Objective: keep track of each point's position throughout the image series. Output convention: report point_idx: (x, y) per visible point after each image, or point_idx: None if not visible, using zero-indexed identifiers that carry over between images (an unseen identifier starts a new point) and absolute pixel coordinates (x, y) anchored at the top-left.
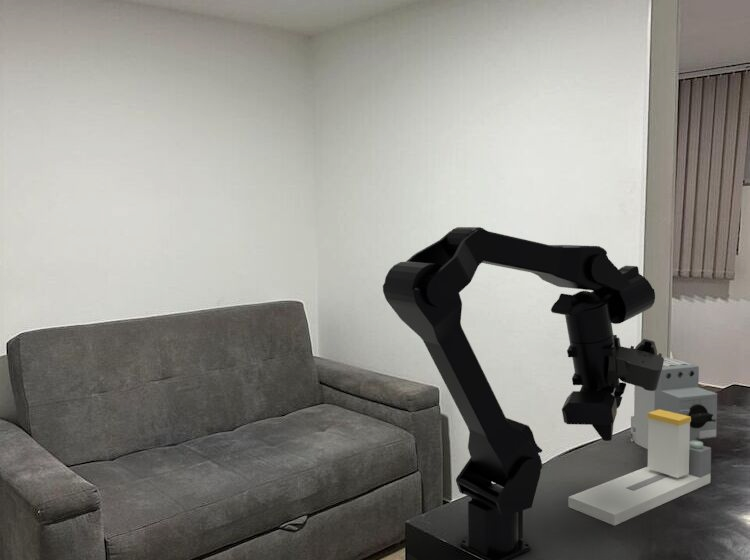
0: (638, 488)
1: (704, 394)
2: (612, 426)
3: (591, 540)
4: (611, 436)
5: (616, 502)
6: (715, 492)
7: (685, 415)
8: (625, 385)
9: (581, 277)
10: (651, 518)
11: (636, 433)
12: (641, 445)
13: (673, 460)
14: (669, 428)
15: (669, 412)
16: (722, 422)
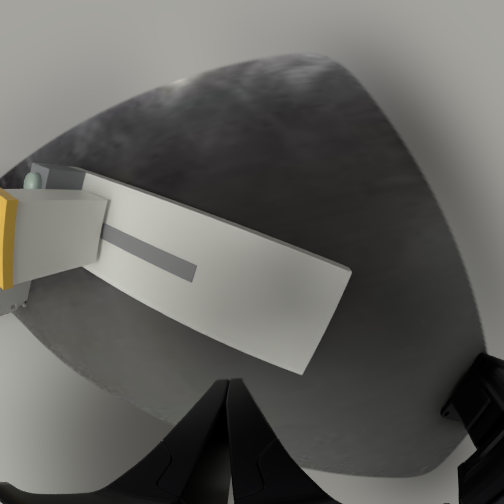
0: (180, 259)
1: None
2: (219, 411)
3: (426, 287)
4: (246, 387)
5: (281, 284)
6: (105, 147)
7: None
8: (3, 501)
9: None
10: (272, 209)
11: (16, 302)
12: (28, 291)
13: (81, 210)
14: (24, 226)
15: None
16: None
